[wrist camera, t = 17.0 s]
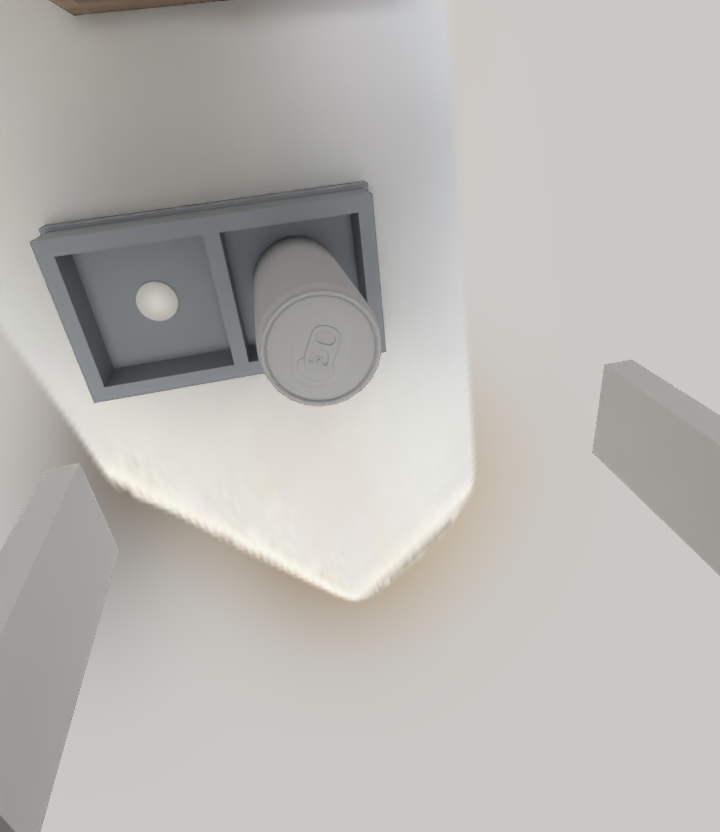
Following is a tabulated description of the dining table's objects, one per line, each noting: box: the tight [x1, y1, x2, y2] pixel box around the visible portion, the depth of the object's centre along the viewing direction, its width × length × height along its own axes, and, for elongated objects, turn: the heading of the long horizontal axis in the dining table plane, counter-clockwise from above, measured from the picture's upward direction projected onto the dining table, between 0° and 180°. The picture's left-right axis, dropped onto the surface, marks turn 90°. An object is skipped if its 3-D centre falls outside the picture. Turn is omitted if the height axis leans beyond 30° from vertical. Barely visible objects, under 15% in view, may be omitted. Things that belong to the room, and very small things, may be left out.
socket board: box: [30, 181, 386, 403], centre depth 30 cm, size 9×17×4 cm, turn 96°
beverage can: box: [253, 236, 381, 406], centre depth 25 cm, size 5×5×12 cm
